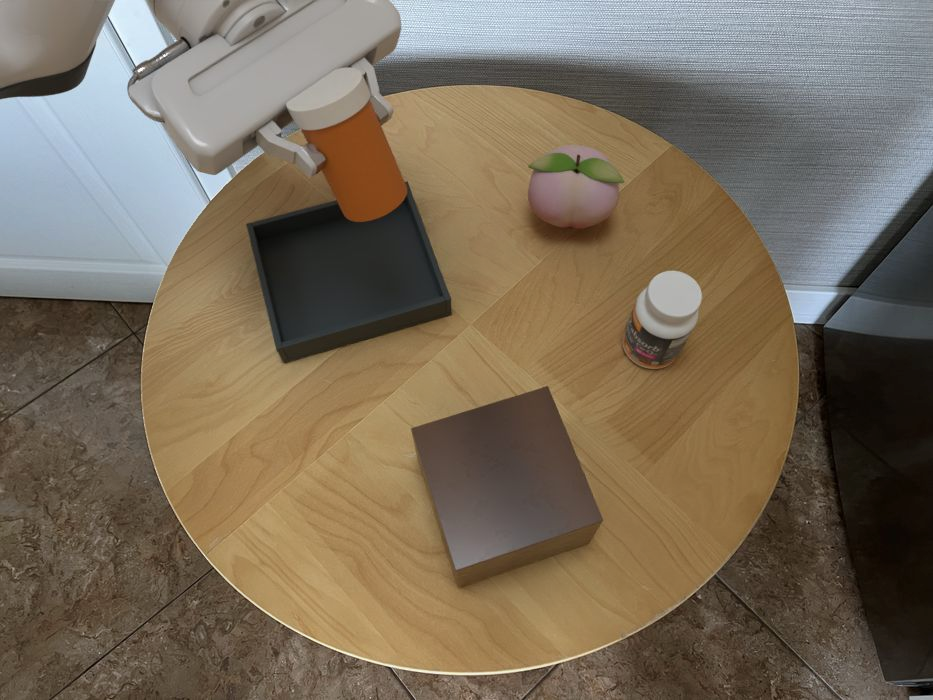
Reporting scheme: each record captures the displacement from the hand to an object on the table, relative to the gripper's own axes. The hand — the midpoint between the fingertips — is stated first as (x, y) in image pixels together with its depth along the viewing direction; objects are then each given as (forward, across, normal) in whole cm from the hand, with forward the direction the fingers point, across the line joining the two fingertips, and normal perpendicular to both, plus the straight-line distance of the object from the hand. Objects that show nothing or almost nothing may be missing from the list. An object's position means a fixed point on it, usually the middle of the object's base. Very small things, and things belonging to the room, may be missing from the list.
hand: (353, 144), depth 57 cm
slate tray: (+4, 0, +22) cm, 22 cm away
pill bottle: (+30, +14, +12) cm, 35 cm away
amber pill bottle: (+3, 0, +4) cm, 5 cm away
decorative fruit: (+14, +21, +17) cm, 31 cm away
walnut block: (+29, -7, +13) cm, 33 cm away
